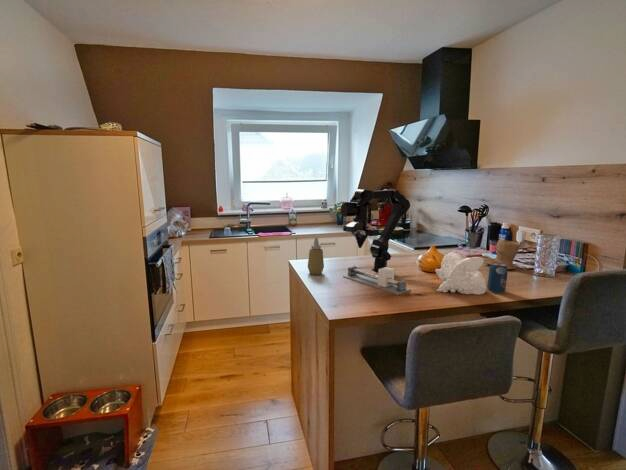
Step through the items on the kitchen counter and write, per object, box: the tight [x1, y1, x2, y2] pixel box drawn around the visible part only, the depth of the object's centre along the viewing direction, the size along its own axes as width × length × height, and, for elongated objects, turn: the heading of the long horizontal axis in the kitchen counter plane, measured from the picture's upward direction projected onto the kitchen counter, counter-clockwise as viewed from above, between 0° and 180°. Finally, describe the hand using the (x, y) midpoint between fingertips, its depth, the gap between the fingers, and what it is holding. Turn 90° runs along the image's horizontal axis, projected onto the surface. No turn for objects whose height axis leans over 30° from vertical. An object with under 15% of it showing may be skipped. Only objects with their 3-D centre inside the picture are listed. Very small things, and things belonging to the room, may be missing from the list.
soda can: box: [486, 262, 509, 294], centre depth 149 cm, size 7×7×12 cm
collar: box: [377, 266, 395, 287], centre depth 153 cm, size 4×6×7 cm, turn 131°
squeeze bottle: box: [307, 236, 325, 276], centre depth 170 cm, size 8×8×18 cm
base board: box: [342, 274, 411, 296], centre depth 158 cm, size 31×9×1 cm, turn 41°
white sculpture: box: [435, 251, 488, 295], centre depth 150 cm, size 19×20×20 cm
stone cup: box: [483, 238, 520, 270], centre depth 189 cm, size 15×12×15 cm
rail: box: [347, 265, 407, 292], centre depth 158 cm, size 30×4×4 cm, turn 41°
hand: (360, 247), depth 171 cm, fingers closed
